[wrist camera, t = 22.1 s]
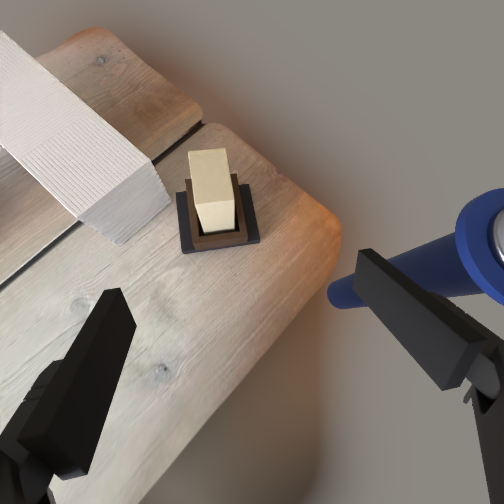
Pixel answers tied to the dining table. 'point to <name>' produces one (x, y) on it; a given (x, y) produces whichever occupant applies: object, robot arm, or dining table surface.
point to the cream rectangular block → (213, 190)
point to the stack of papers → (74, 150)
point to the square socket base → (198, 242)
